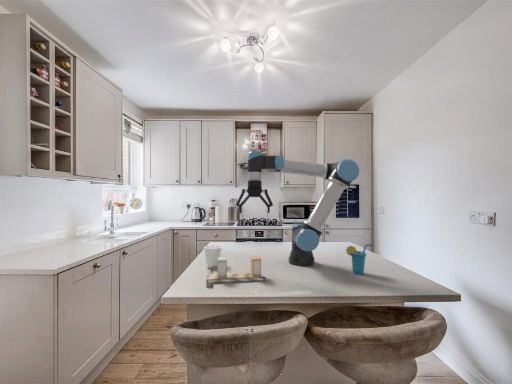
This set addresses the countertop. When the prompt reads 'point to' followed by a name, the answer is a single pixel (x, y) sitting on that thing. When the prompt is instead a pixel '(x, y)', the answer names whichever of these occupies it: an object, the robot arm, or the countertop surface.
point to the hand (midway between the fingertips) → (254, 219)
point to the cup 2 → (357, 259)
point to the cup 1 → (212, 255)
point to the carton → (222, 268)
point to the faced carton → (255, 266)
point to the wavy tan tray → (232, 278)
